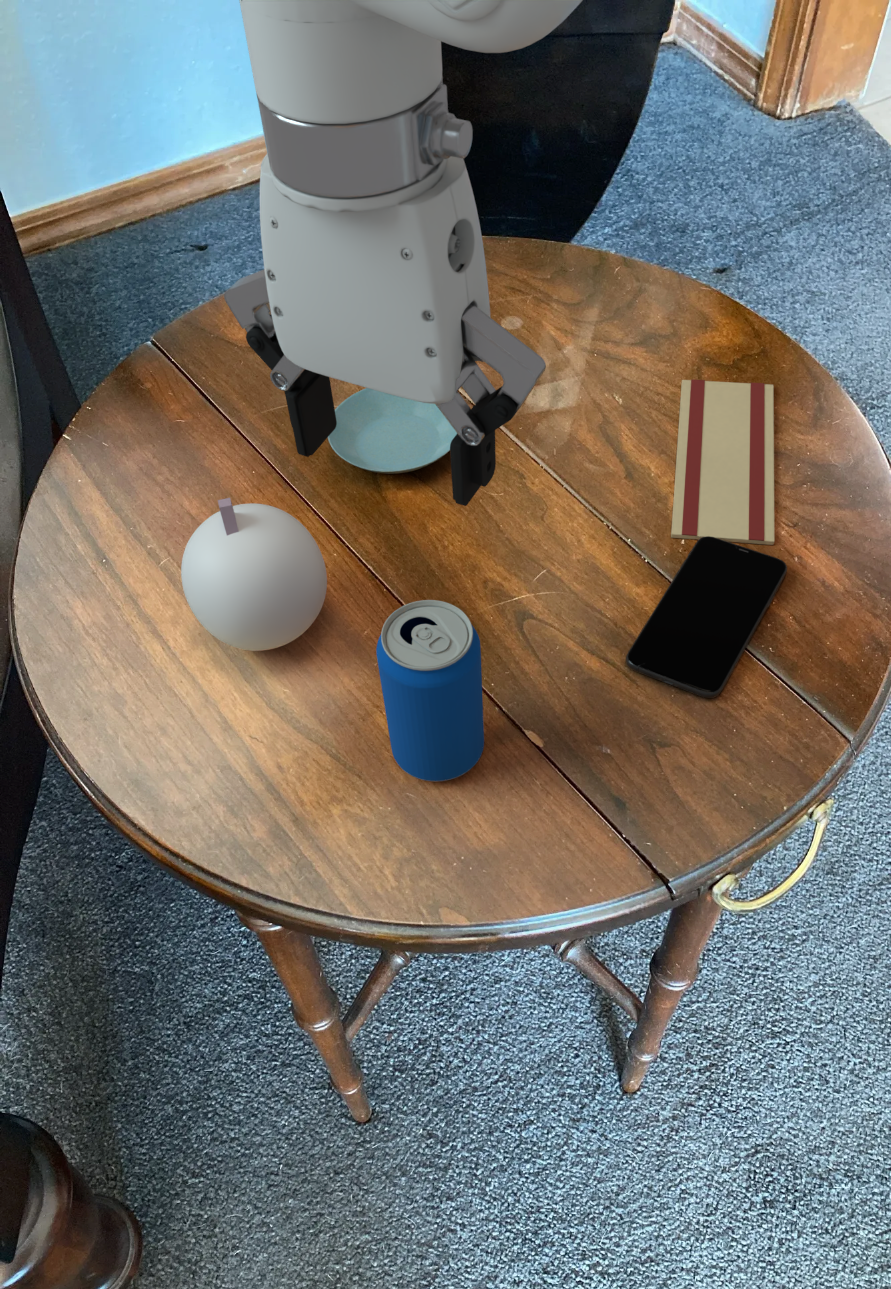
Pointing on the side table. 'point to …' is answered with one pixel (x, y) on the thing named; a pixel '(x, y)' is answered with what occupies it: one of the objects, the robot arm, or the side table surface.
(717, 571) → the smartphone
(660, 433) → the side table surface
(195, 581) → the ornament
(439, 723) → the beverage can
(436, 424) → the saucer
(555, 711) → the side table surface
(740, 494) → the tea towel
